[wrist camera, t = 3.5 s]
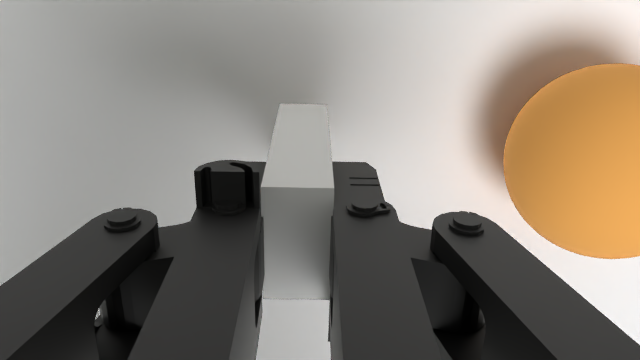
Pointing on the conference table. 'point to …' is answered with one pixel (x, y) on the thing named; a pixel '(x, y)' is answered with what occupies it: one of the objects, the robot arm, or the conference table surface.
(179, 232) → the robot arm
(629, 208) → the ball
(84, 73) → the conference table surface
